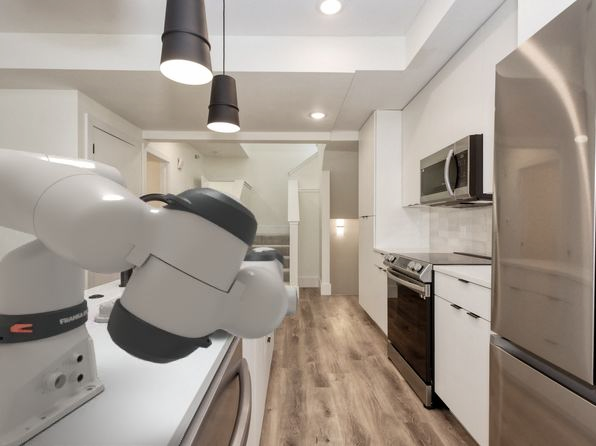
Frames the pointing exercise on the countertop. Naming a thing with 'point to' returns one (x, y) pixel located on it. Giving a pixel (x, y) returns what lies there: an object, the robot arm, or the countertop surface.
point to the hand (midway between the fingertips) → (184, 301)
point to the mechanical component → (104, 312)
